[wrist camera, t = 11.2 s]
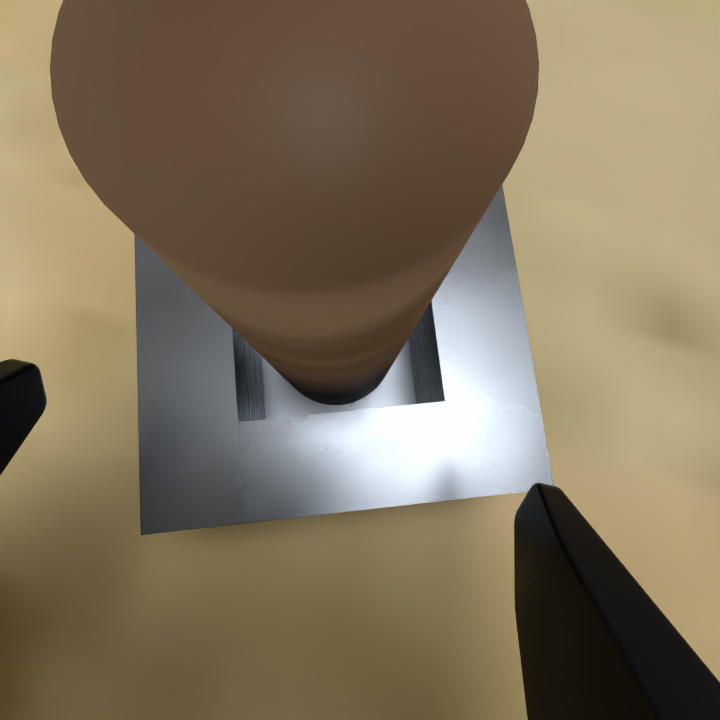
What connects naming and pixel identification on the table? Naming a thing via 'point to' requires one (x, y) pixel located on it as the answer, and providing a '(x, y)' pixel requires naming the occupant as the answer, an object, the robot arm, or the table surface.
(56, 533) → the table surface
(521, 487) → the bore block
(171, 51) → the walnut pin
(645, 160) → the table surface
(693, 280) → the table surface
